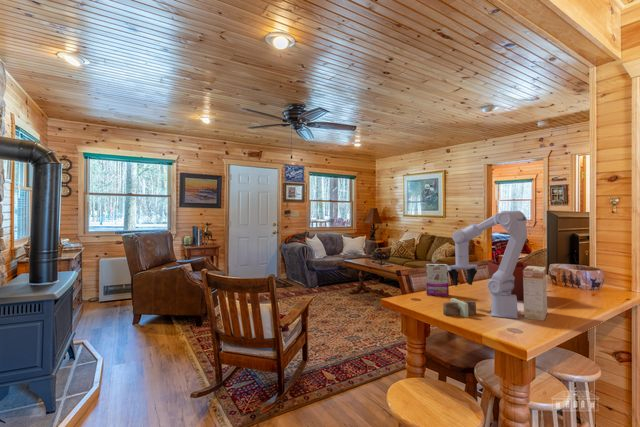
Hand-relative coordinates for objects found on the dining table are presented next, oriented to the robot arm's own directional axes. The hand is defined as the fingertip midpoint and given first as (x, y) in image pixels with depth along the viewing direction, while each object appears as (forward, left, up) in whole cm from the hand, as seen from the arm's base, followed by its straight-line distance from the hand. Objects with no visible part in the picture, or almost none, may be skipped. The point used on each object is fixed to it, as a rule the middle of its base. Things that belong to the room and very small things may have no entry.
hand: (462, 285), depth 154 cm
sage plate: (+1, +16, -9) cm, 18 cm away
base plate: (+1, +16, -9) cm, 19 cm away
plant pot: (-24, -25, -10) cm, 36 cm away
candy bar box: (+13, -17, -10) cm, 23 cm away
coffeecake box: (-28, +6, -10) cm, 30 cm away
